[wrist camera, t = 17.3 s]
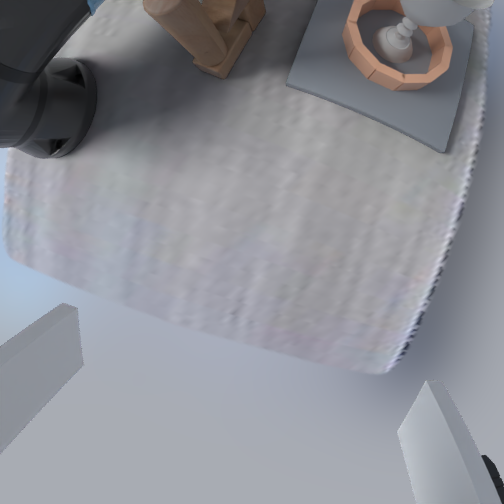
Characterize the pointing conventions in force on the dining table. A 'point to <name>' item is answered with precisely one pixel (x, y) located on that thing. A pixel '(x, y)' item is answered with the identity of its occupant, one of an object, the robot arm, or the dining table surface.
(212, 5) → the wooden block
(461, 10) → the chalice
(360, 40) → the ceramic collar
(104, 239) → the dining table surface
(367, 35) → the slate board
